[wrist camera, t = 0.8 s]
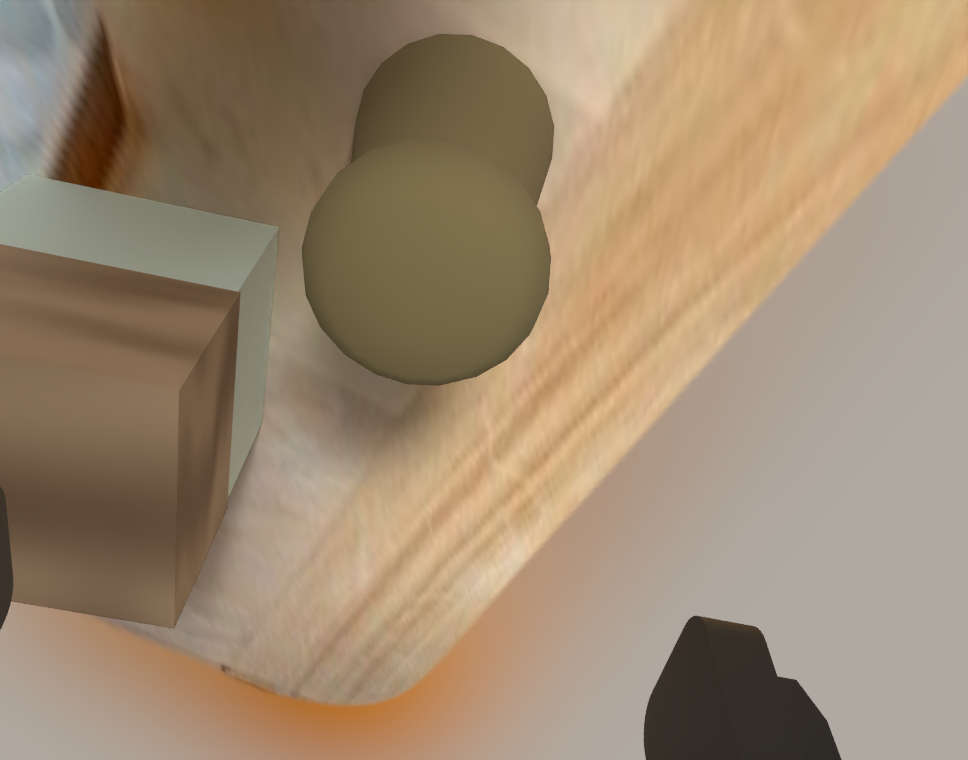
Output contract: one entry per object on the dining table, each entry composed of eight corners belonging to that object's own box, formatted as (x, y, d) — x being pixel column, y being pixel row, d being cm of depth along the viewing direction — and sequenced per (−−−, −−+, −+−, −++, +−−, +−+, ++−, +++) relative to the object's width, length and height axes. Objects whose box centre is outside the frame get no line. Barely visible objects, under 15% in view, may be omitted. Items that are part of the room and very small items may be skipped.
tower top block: (-59, 232, 23) (-192, 320, 18) (240, 292, 23) (179, 390, 19) (-26, 463, 27) (-128, 578, 23) (227, 508, 27) (174, 628, 23)
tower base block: (29, 172, 27) (-63, 232, 23) (280, 225, 28) (236, 293, 23) (45, 380, 31) (-30, 463, 27) (262, 421, 32) (223, 509, 27)
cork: (453, 267, 28) (422, 476, 19) (314, 134, 26) (199, 295, 16) (595, 143, 26) (640, 311, 16) (455, -15, 23) (415, 74, 14)
